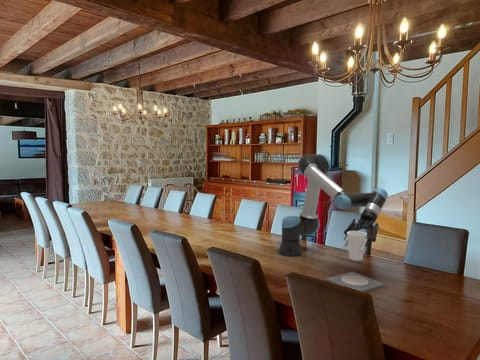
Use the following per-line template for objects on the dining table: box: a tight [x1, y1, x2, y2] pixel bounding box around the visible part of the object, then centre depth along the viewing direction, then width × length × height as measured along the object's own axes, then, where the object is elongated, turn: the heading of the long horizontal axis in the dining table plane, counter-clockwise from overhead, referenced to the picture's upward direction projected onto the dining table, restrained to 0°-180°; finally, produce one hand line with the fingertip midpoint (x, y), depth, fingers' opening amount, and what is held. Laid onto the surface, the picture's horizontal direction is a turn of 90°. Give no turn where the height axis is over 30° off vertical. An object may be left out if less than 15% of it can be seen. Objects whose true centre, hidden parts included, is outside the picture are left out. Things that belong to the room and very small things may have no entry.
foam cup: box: [347, 230, 368, 261], centre depth 173 cm, size 10×9×13 cm
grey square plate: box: [325, 271, 386, 293], centre depth 175 cm, size 20×20×2 cm
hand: (352, 249), depth 171 cm, fingers closed on foam cup, 9 cm apart
